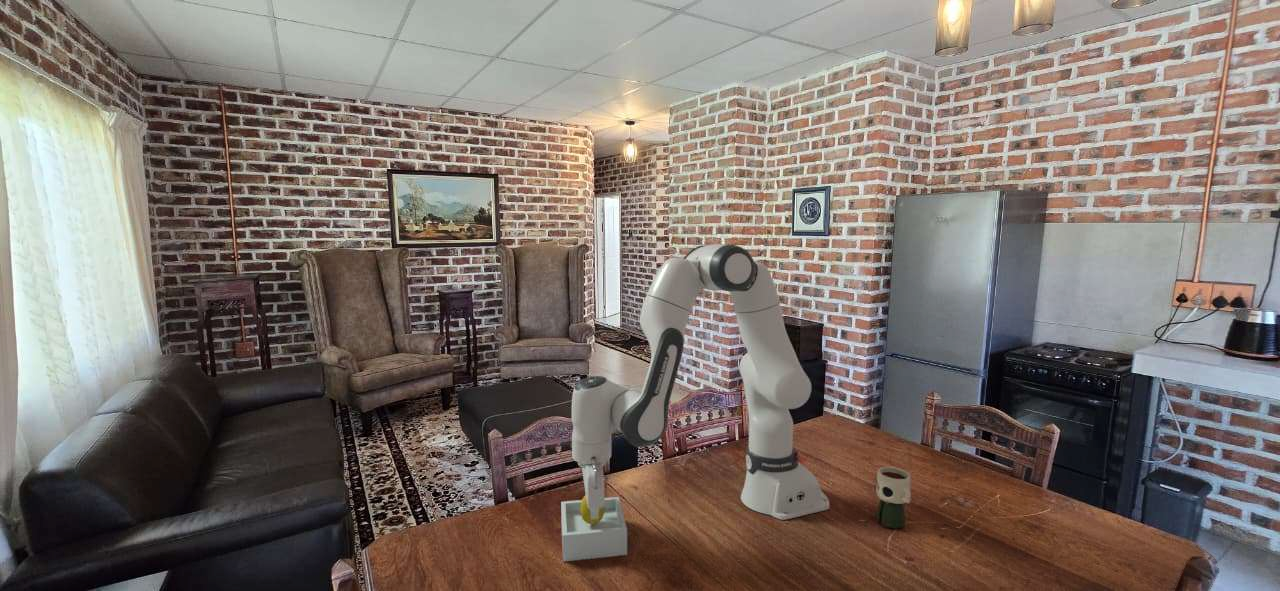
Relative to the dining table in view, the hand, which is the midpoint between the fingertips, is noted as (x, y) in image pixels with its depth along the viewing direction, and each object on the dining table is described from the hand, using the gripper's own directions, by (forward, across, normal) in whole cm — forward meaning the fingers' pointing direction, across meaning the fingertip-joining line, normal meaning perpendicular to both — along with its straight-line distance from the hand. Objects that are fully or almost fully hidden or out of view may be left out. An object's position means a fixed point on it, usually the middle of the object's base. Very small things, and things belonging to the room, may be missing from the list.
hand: (592, 506), depth 120 cm
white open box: (+9, 0, 0) cm, 9 cm away
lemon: (+5, 0, 0) cm, 5 cm away
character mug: (+8, -6, -72) cm, 73 cm away
